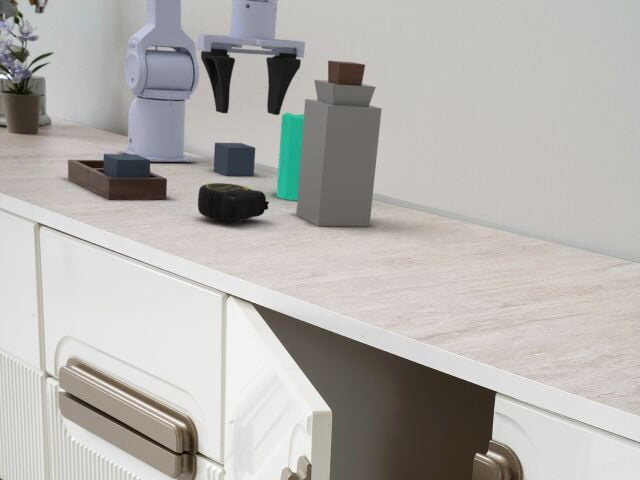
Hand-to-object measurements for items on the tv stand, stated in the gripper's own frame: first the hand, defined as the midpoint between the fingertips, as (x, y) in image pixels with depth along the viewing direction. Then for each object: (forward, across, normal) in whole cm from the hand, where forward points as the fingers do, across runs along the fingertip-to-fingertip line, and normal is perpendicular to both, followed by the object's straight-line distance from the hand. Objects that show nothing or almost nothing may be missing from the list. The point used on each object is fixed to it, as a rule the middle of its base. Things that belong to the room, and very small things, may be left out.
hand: (247, 113), depth 147 cm
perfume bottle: (+10, +2, -20) cm, 23 cm away
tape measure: (+10, -11, -19) cm, 25 cm away
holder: (+10, -18, +2) cm, 20 cm away
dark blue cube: (+9, -18, -2) cm, 20 cm away
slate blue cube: (+10, +6, +14) cm, 18 cm away
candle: (+10, +6, -5) cm, 13 cm away
